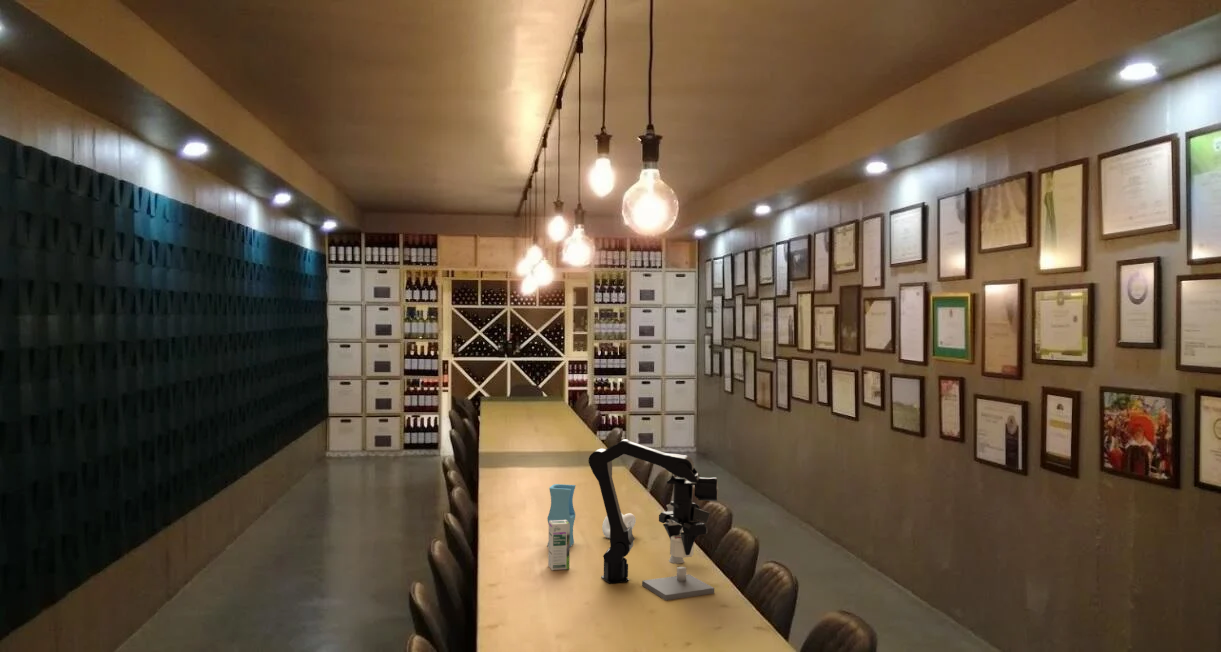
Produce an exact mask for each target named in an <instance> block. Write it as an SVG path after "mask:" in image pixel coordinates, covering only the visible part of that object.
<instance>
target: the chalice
mask: <svg viewBox="0 0 1221 652" xmlns="http://www.w3.org/2000/svg"><path fill="white" fill-rule="evenodd" d="M666 508H667V512H668V511H673V506H671V505H670V503H669V504H666ZM684 524H685V523H684ZM681 532H683V527H682V529H681V530H680V533H681ZM668 562H669V563H671V564H683V563H685V560H684V558H682V557H674V556H672V555H671V554H670V557H669V559H668Z"/></svg>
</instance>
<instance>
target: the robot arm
mask: <svg viewBox="0 0 1221 652" xmlns="http://www.w3.org/2000/svg"><path fill="white" fill-rule="evenodd" d="M622 455H627V456H629V457H633V458H635V459H638V460H641V461H644V462H647V463H650V464H653V465H656V466H658V467H661V468H663V469H665V470H666V471H668V472H669V473H670V474H672V475H671V477H670V478H668V480H667V481H666V484H668V485H673V486H672V487H673V489H672V490H673V491H672V492H673V493H672V494H673V496H672V501H670V502H669V504H670V505H671V506H673V511H668V510H667V511H661V512H660V514H659V515H658V522H659V523H662V526H663V527H664V529H665V531H666V533H667V535H668V537H669V541H670V540H671V536H673V535H681V538H682V542H683V546H684V551H685V554H686V555H690V552H691V549H692V546H693V543H694V544H695V541H696V539H697V537H699V536H702V535H707V534H708V526H707V525H706V524H708V522H709V519H710V515H711V512H709V511H706V510H703V509H700V505H699V504H696V503H695V502H693V501H694V499H693V495H694V497H695V498H696V499H697V501H707V502H708V501H709V502H718V500H719V483H718V477H701V475H700V474H699V472H698V471H697V469H696V468H695V464H694V463H695V462H694V460H693V458H692V457H691V456H689V455H684V454H678V453H668V452H663V451H660V450H657V449H655V448H651V447H648V446H646V445H643V444H639V443H636V442H633V441H631V440H629V439H628V438H627V439H625V438H624V439H622V440H620V441H619V442H617V443H616V444H613V445H611V446H609V447H607V448H598V449H596V450H594V451H593V452H592V453H591V454H590V455H589V457H588V465H589V466H590V469H591V472H592V474H593V475H594V477H595V478H596V480H597V483H598V485H599V489H600V492H601V497H602V500H603V501H602V502H603V504H604V508H605V511H606V516H607V517H608V521H609V524H610V539H609V545H610V547H608V548H607V550H606V551H605V553H604V554H603V555H602V557H603V575H601V577H600V578H601V579H602V580H604V581H606V582H607V583H608V584H616V583H617V584H618V583H625V582H626V583H627V582H629V581H630V579H629V578H628V577H629V564H628V559H627V558H625V557H626V556H628V555H629V553H630V551H631V550H632V548H633V547H634V541H635V539H636V538H635V536H634V535H633V529H632V527H628V528H627V527H626V525H625V524H624V522H623V518H622V514H623V513H622V511H621V507H620V503H619V499H618V495H617V492H616V488H615V484H614V480H613V460H616V459H618V458H619V457H621V456H622ZM693 489H694V491H693ZM693 493H694V494H693ZM621 513H622V514H621ZM698 520H699V521H698ZM684 523H685V524H684ZM682 527H683V531H682V532H681V533H680V530H681V529H682Z"/></svg>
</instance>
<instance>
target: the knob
mask: <svg viewBox="0 0 1221 652" xmlns="http://www.w3.org/2000/svg"><path fill="white" fill-rule="evenodd" d="M669 541H670V542H669V545H670V546H669V547H670V548H669V555H670V556H671V555H672V556H674V557H682V558H683V559H684V558H685V559H686V558H692V557H693V556H694V554H695V553H694V551H695V550H694V549H695V542H694V543H693V546H692V549H691V552H690V555H686V554H685V551H684V546H683V542H682V538H681V534H680V535H673V536H671V540H670V539H669Z"/></svg>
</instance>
